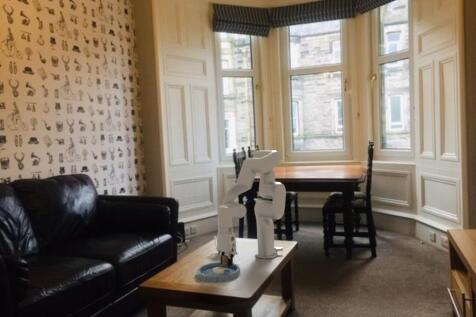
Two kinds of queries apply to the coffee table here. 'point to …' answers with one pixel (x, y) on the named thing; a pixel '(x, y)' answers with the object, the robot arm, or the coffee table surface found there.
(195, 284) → the coffee table surface
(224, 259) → the walnut bead
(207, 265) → the ring tray
